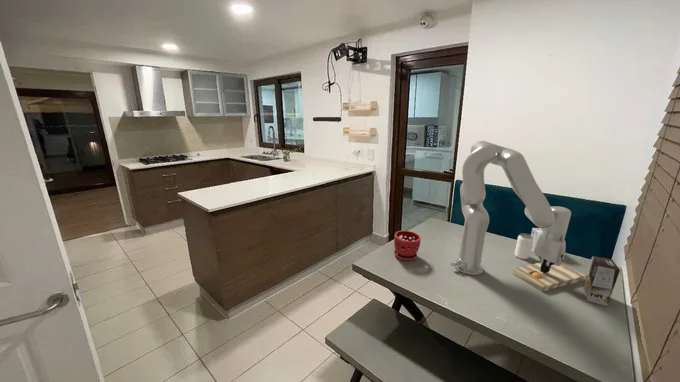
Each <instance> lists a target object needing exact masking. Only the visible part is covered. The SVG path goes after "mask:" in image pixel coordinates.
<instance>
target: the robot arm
mask: <svg viewBox="0 0 680 382" xmlns="http://www.w3.org/2000/svg"><path fill="white" fill-rule="evenodd" d="M489 164H491V165H495V166H499V167H502V170H503V171H504V174H505V175H506V178H507V180H508V181H509V184H510V186H511V188H512V190H513V192H514V193H515V194H516V195H517V196H518V198H520V200H521V201H522V203H523V204H524V205H525V208H524V214H525V216H526V217H527V218H528V219H529V221H531V222H532V223H533V225H535V226H536V227H537V228H541V230H542V231H543V234H540V236H539V238H538V240H537V242H536V245H535V248H534V249H533V253H534V254H535V256H537V257H538V259H539V260H540V262H541V263H542V264H541V270H540V271H541V272H543V273H547V272H549V271H550V268H551V265H556V266H561V263H562V262H563V261H564V258H565V254H566V248H567V247H566V246H567V245H566V240H565V238H566V236H567V235H566V234H567V232H568V231H567V230H568V228H569V223H570V220H571V216H572V211H571V210H570V209H568V208H567V207H564V206H557V205H556V206H555V205H554V206H551V204H550V203H549V201H548V199H547V197H546V195H544V193H543V191H542V190H541V188H540V187H539V184H538V183H537V181H536V179H535V178H534V175H533V173H532V171H531V169H530V167H529V164H528V163H527V160H526V158H525V157H524V155H523V154H522V153H521V152H520V151H517V150H514V149H511V148H508V147H505V146H501V145H498V144H495V143H492V142H489V141H485V140H478V141H475V142H474V143H473V144H472V146H471V148H470V154H469V155H468V156H467V157H466V159H465V160H464V162H463V165H462V170H461V171H462V172H461V173H462V175H461V176H462V182H461V184H460V187H459V193H460V197H459V198H460V204H461V212H462V214H463V217H464V225H463V227H462V233H461V241H460V248H459V256H458V257H457V259H456V260H455V261H451V262H450V263H449V265H450V267H455V268H456V269H457V271H459V272H461V273H463V274H465V275H466V274H467V275H470V276H478V275H481V274H483V273H484V266H482V265H481V264H482V258H483V250H484V246H485V239H486V234H487V231H488V230H487V229H488V227H489V224H490V216H489V213H488V211H487V209H486V208H485V207H484V204H483V203H484V201H485V199H486V196H487V195H486V194H487V193H486V185H485V169H486V167H487V166H488V165H489ZM540 262H539V263H540Z"/></svg>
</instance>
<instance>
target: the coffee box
mask: <svg viewBox="0 0 680 382" xmlns="http://www.w3.org/2000/svg"><path fill="white" fill-rule="evenodd" d="M620 271H621V270H620V268H619V267H618V265H617V264H616V263H615V261H614V259H612V258H611V259H610V258H605V257H599V256H594V255H592V257H591V258H590V263H589V266H588V270H587V273H586V277H585V280H584V284H583V287H582V290H583V293H584V296H585V299H586V301H587V302H591V303H594V304H598V305H601V306H605V307H607V306H609V303H610V299H611V297H612V294H613V292H614V289H615V286H616V283H617V280H618V277H619V275H620V274H619V273H621V272H620Z"/></svg>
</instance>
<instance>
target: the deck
mask: <svg viewBox="0 0 680 382" xmlns="http://www.w3.org/2000/svg"><path fill="white" fill-rule="evenodd" d="M541 264H542V263H541V262H537V263H533V264H528V265H524V266H520V267H513V269H512V272H511V273H512V274H513V275H514V276H515V277H517V278H519V279H520V280H522V281H524V282H525V283H527V284H528V285H530V286H532V287H533V288H534V289H536V290H538V291H540V292H541V293H543V292H547V291H550V290H554V289H557V288H561V287H565V286H568V285H569V286H570V285H573V284H576V283H580V282H585V280H586V276H587V274H586V275H585V274H584V273H581V272H580V271H578V270H575V269H574V268H572V267H569V266H567V265H565V264H563V263H562V262H561V266H556V265H551V268H550V271H549V272H547V273H543V272H541V271H540V270H541ZM535 272H537V273H539V274H540V275H541V277H542V278H541V279H537V278H536V277H534V276H532V274H533V273H535Z"/></svg>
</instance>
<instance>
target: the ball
mask: <svg viewBox="0 0 680 382" xmlns="http://www.w3.org/2000/svg"><path fill="white" fill-rule="evenodd" d="M532 276H534V277H536V278H537V279H541V278H542V277H541V275H540V274H539V273H537V272H535V273H533V274H532Z"/></svg>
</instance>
